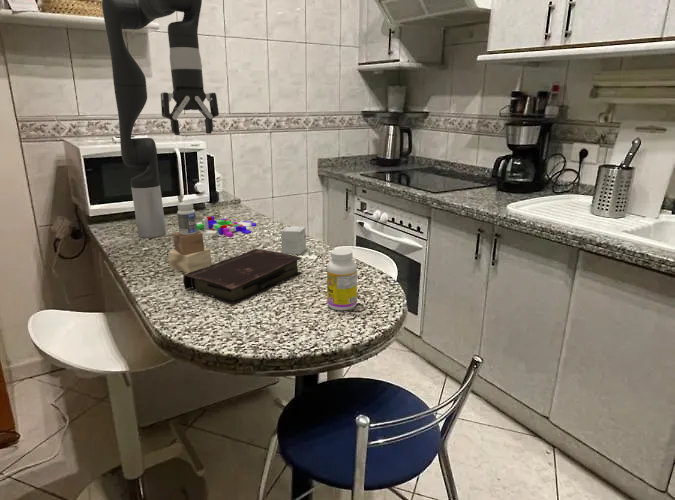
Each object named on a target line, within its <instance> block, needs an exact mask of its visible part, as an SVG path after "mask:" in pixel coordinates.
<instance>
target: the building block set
mask: <svg viewBox="0 0 675 500" xmlns="http://www.w3.org/2000/svg"><path fill="white" fill-rule="evenodd" d="M196 224H197V231H200V230H201V229H203V230H207V229H208V230H207V231H205V235H207V236H210V235H211V236H212V235H213V236H215V235H217V234H218V235H220V236H225V237H228V238H233V236H235V235H234V232H235V233H238V232H240V233H241V232H242V233H241V234H245V235H248V233H249V234H252V233H253V230H251V227H252V226H255V227H257V226H256V225H257V223H256V222H252V221H250V220H243V221H239V222H238V221H233V222H232V220H231V219H230V218H228V219H227V218H221V219H219V220H215V217H214V216H213V215H210V216H204V217H203V219H201V222H196ZM249 226H251V227H249ZM209 229H210V230H209ZM248 229H250V230H248ZM251 232H252V233H251Z"/></svg>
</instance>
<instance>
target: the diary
mask: <svg viewBox="0 0 675 500" xmlns="http://www.w3.org/2000/svg"><path fill="white" fill-rule="evenodd" d="M301 259H303V257H301V256H298V255H294V254H284V253H282V252H279V251H272V250H264V249H259V248H255V249H251V250H249V251H248V252H247V251H246V252H245V253H241V254H239V255H235V256H232V257H230V258H226V259H224V260H221V261H218V262H216V263H213V264H212V265H210V266H207V267H205V268H202V269H199V270H196V271H193V272H189V273H187V272H185V273H184V274H183V275H182V277H183V279H182V280H183V286H184V289H185V290H189V289H191V288H192V289H191V290H190V291H191V292H192V291H197V292H200V293H203V294H206V295H209V296H212V297H211V299H214V300H217V301H220V302H222V303H225V304H227V305H228V304H229V305H234V304H239V303H241V302H243V301H245V300H247V299H251V298H252V297H255V296H257V295H259V294H260V293H262V292H263V293H264V292H265V291H267V290H269V289H270V288H274V287H276V286H278V285H280V284H281V283H283V282H285V281H287V280H290V279H293V278H296V277H298V276H301V275H302V274H303V272H301V271H299V269H298V268H299V267H298V261H300V260H301Z"/></svg>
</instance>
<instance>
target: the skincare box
mask: <svg viewBox="0 0 675 500" xmlns="http://www.w3.org/2000/svg"><path fill="white" fill-rule="evenodd" d="M280 232H281V233H280V237H281V253H284V254H289V255H301V254H302V253H304V251H306V250H307V240H306V239H307V235H306V234H307V233H306V226H295V225H294V226H293V225H288V226H286V227H284V228H283V229H281V231H280Z"/></svg>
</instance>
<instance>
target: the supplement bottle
mask: <svg viewBox="0 0 675 500" xmlns="http://www.w3.org/2000/svg"><path fill="white" fill-rule="evenodd" d="M330 257H331V260H330V261H329V262H328V263H327V265H326V294H327V295H326V297H327V298H326V301H327V302H326V303H327V305H328V307H329V308H330V309H331V310H334V311H341V312H342V311H349V310H353V309H354V308H355V307H356V305H357V300H358V294H357V293H358V292H357V291H358V288H357V287H358V284H357V283H358V277H357V276H358V273H357V272H358V266H357V264H356V262H355V261H354V260H352V258H353V250H352V249H349V248H342V247H341V248H335V249H332V250H331V252H330Z"/></svg>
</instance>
